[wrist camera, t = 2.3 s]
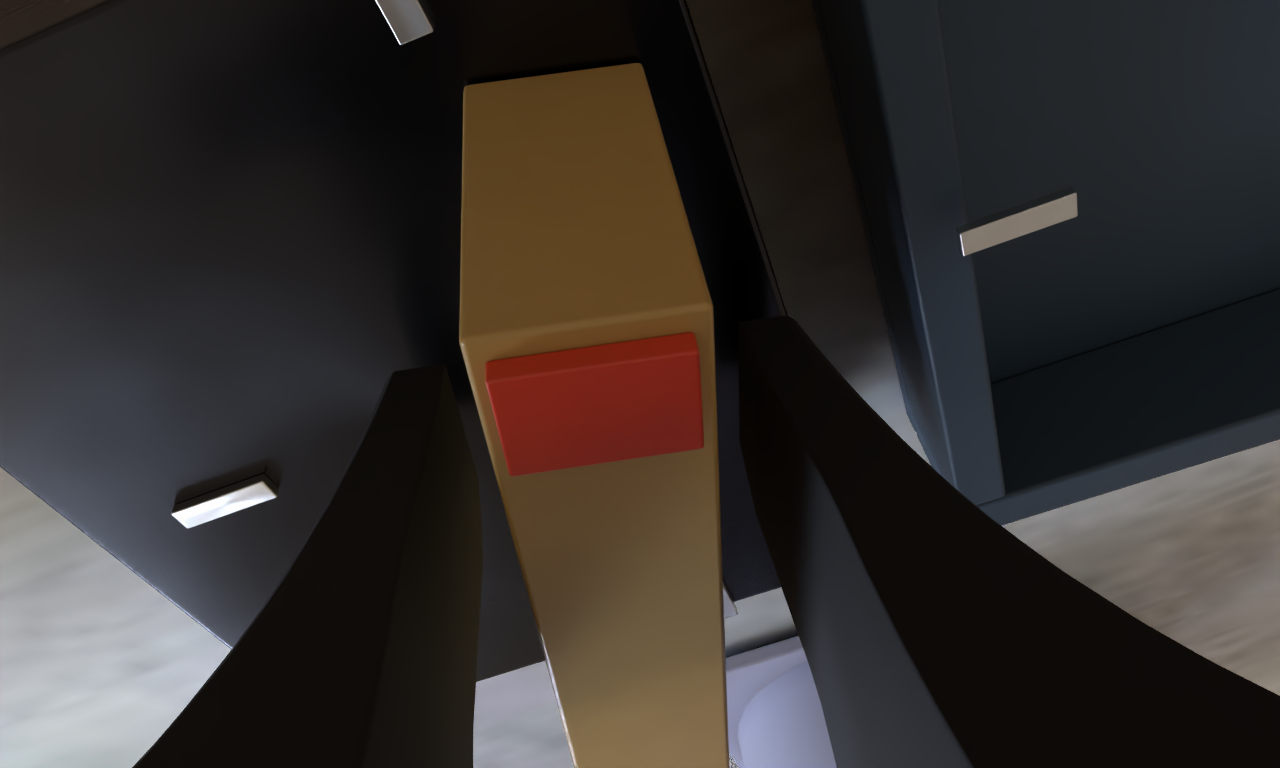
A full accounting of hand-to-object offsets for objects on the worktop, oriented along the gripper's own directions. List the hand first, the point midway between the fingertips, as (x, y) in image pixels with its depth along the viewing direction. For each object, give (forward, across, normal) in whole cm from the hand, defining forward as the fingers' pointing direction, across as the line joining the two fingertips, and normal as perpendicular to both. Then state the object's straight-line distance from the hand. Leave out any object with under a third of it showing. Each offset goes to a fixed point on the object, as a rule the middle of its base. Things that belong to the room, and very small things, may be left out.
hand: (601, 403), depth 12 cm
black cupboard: (+4, +1, 0) cm, 4 cm away
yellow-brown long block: (+1, 0, 0) cm, 1 cm away
